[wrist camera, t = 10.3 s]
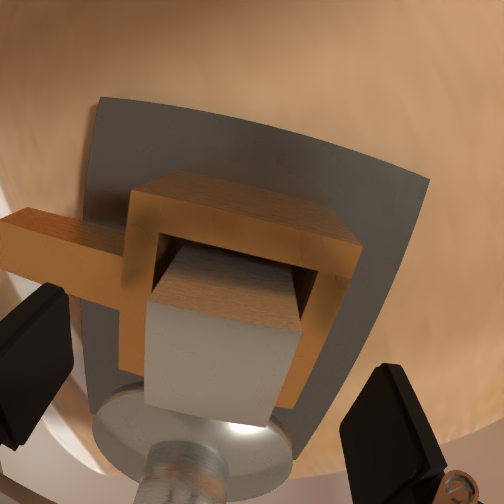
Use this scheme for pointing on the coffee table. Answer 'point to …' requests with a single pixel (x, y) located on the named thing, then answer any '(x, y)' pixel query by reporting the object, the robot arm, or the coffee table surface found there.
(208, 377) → the grey block
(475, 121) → the coffee table surface
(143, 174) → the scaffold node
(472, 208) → the coffee table surface
